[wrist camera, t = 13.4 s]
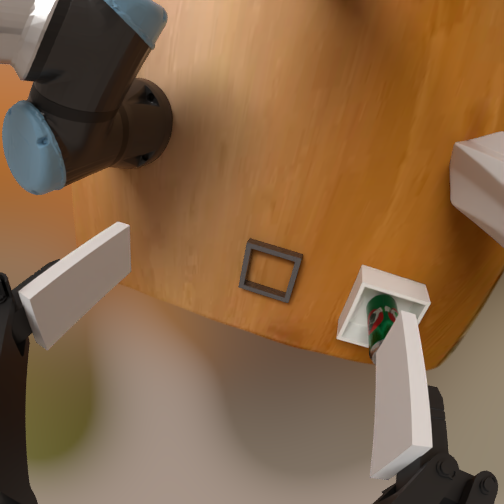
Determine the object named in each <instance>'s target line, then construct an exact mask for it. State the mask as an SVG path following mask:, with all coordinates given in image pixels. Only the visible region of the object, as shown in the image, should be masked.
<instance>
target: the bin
mask: <svg viewBox="0 0 504 504" xmlns="http://www.w3.org/2000/svg"><path fill="white" fill-rule="evenodd" d="M377 295H389V296H391V297H392V298H393V299H394V300H395V301H396V304H397V308H398V313H400V311H401V310H402V311H405V312H409V313H412V314H415V315H416V319H417V324H419V323H420V321H421V319H422V318H423V316H424V314H425V312H426V311H427V309H428V307H429V305H430V304H431V302H430V299H429V295H428V292H427V289H426V285H425V284H422V283H419V282H415V281H412V280H409V279H406V278H403V277H400V276H397V275H394V274H390V273H387V272H384V271H381V270H378V269H375V268H372V267H368V266H365V265H362V266H361V268H360V271H359V273H358V276H357V278H356V280H355V283H354V285H353V288H352V290H351V292H350V295H349V297H348V299H347V302H346V304H345V306H344V308H343V311H342V313H341V315H340V317H339V321H338V329H337V337H336V339H339V340H342V341H346V342H349V343H353V344H357V345H360V346H364V347H367V348H369V342H368V326H367V313H366V306H367V304H368V302H369V301H370V300H371V299H372V298H373V297H375V296H377Z"/></svg>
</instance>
